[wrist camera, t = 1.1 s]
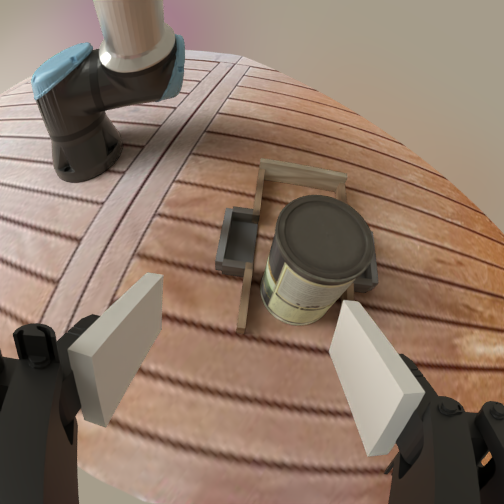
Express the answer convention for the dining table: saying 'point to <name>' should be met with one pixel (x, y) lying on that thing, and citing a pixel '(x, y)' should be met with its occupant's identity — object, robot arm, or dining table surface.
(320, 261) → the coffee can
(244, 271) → the box
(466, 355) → the dining table surface
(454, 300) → the dining table surface
